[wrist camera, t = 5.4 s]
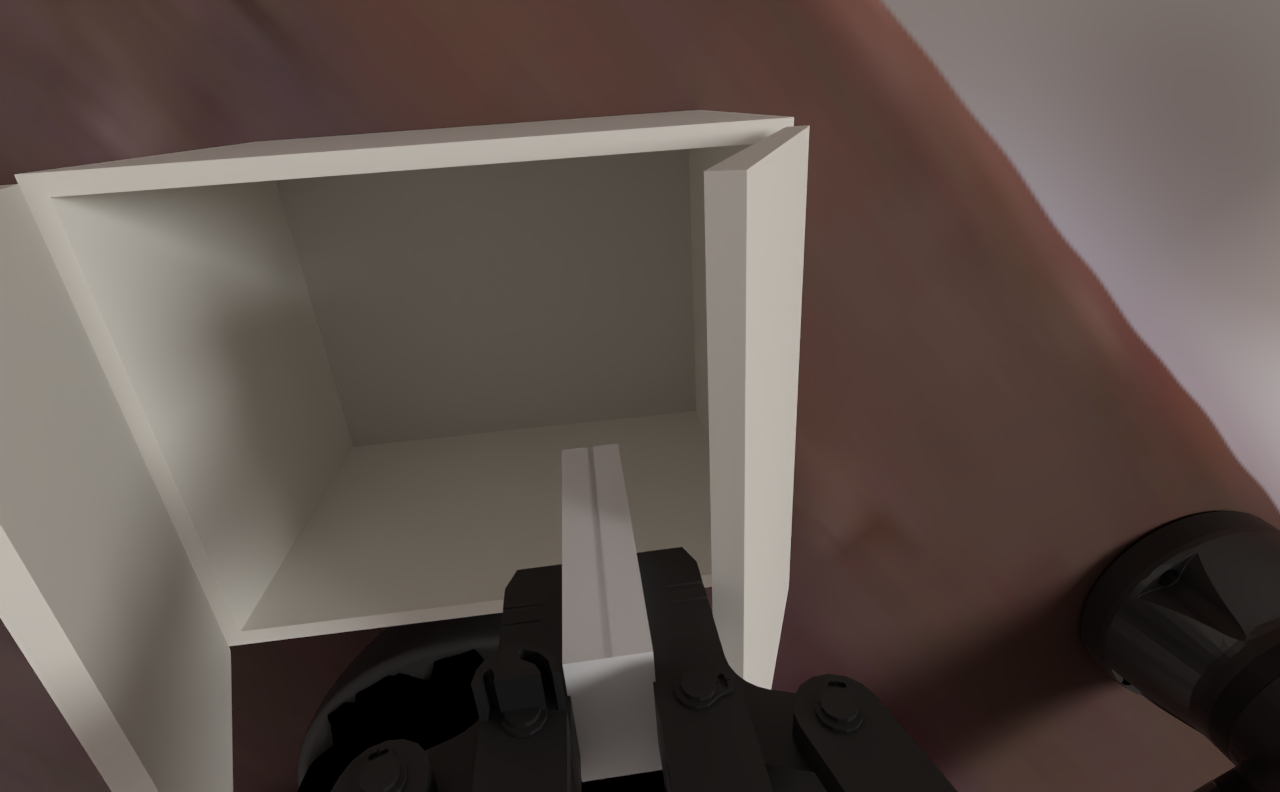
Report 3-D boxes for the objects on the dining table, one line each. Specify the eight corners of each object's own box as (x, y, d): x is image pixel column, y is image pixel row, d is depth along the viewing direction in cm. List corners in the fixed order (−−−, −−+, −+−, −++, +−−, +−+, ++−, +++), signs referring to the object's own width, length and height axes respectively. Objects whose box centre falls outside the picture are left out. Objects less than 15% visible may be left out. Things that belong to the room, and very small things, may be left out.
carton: (698, 109, 30) (793, 117, 17) (704, 414, 37) (777, 578, 24) (257, 141, 29) (13, 174, 16) (348, 451, 35) (228, 646, 23)
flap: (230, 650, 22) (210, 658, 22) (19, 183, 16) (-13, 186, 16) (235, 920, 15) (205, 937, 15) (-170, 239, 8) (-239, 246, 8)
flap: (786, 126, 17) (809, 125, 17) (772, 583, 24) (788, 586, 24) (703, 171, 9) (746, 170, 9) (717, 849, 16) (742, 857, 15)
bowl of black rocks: (696, 694, 46) (772, 1037, 29) (434, 772, 47) (360, 1154, 30) (615, 469, 38) (655, 772, 21) (295, 568, 38) (80, 941, 21)
